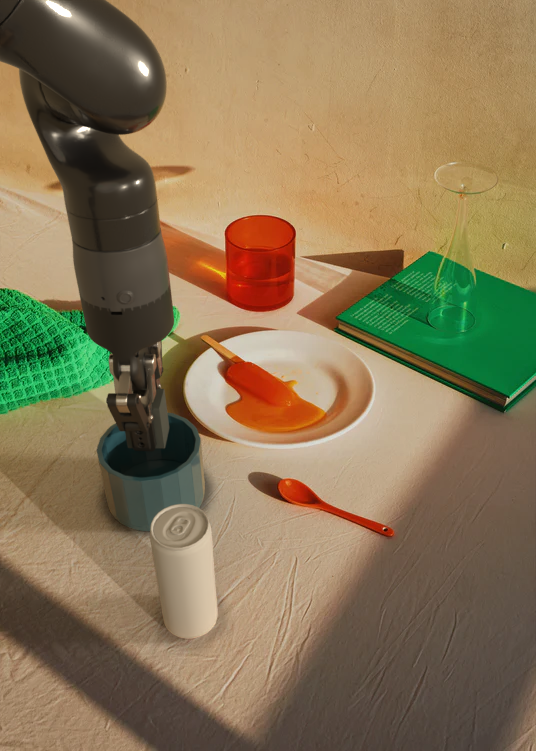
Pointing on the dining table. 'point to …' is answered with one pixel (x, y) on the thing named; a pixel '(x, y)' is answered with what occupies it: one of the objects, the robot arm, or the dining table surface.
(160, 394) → the dark gray rectangular block
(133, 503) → the teal round container
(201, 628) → the beverage can
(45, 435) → the dining table surface
